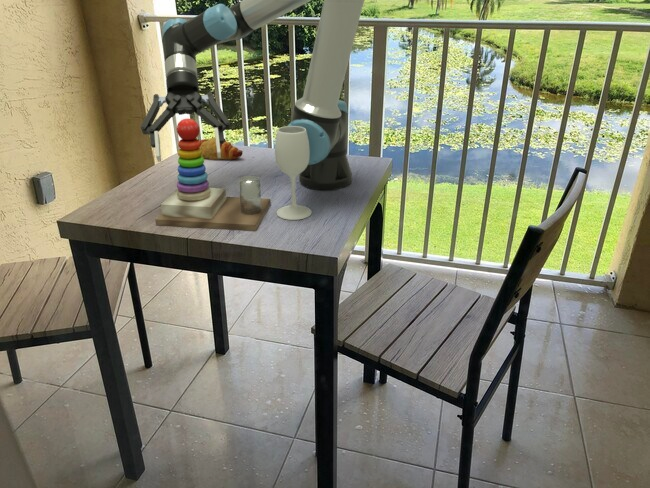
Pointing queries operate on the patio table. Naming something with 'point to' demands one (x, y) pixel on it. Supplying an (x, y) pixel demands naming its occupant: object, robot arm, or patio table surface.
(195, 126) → the stacking toy
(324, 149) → the robot arm
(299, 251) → the patio table surface
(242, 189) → the grey brown short cylinder
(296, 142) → the wineglass
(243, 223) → the board
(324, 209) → the patio table surface
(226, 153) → the croissant
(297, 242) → the patio table surface
